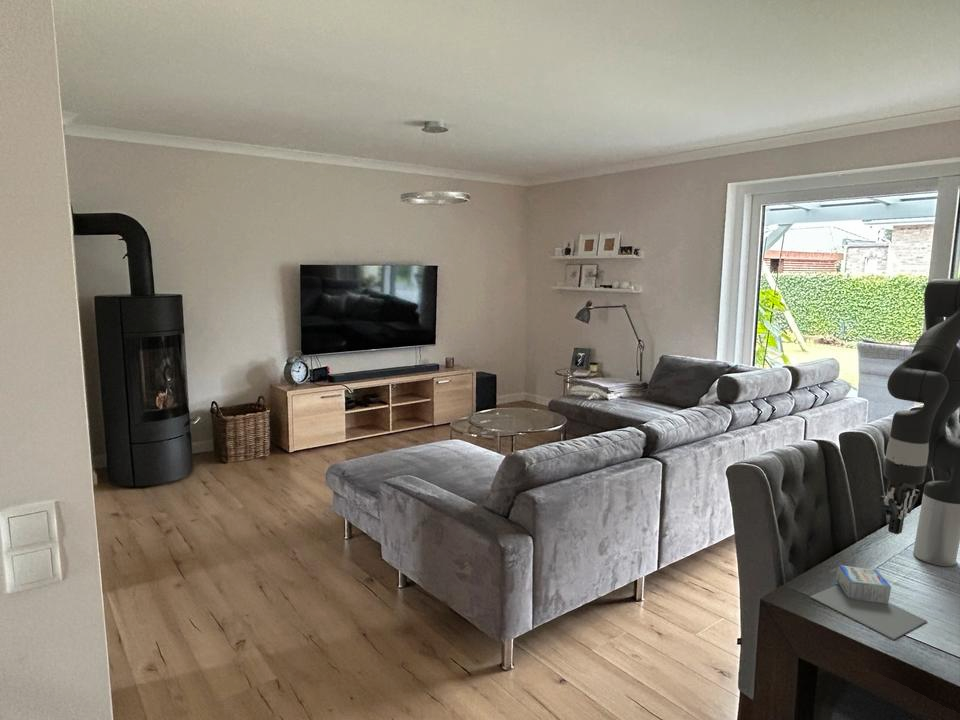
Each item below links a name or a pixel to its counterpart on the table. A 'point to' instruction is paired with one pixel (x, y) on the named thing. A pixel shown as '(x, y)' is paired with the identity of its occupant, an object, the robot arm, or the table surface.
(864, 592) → the medicine box
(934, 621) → the table surface
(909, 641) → the table surface
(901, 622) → the slate mat
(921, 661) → the table surface
